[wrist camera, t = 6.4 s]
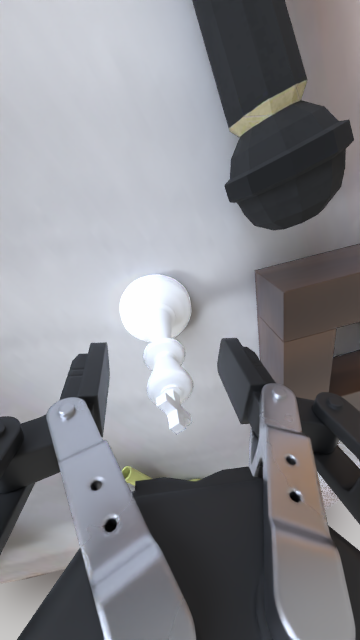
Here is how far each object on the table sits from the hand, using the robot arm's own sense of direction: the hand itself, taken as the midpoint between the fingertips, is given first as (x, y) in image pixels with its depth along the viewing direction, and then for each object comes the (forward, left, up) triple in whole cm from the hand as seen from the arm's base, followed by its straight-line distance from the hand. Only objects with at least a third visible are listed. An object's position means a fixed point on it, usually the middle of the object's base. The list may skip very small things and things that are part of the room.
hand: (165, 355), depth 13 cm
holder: (-2, -15, -6) cm, 16 cm away
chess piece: (0, 0, -6) cm, 6 cm away
